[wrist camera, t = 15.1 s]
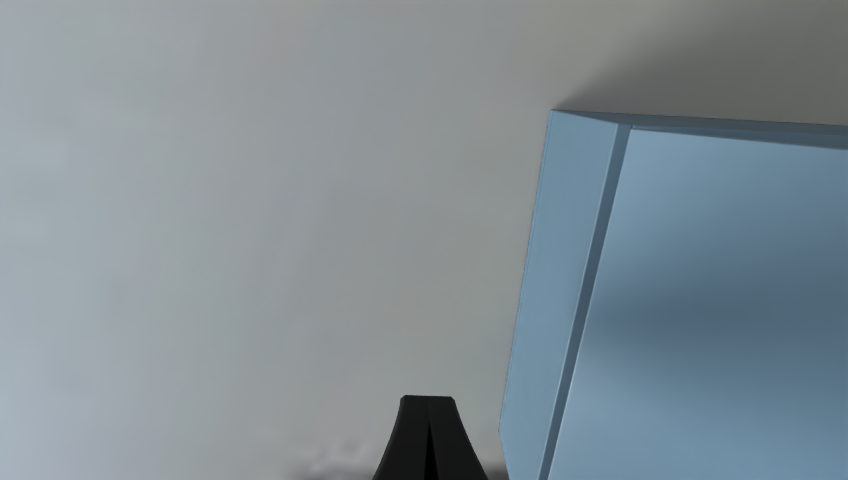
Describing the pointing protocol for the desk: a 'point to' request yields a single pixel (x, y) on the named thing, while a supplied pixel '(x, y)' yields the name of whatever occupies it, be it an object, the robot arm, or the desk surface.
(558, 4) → the desk surface
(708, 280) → the flap
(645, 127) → the carton
